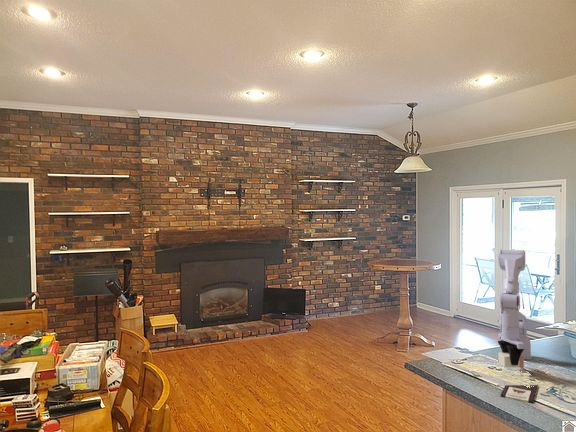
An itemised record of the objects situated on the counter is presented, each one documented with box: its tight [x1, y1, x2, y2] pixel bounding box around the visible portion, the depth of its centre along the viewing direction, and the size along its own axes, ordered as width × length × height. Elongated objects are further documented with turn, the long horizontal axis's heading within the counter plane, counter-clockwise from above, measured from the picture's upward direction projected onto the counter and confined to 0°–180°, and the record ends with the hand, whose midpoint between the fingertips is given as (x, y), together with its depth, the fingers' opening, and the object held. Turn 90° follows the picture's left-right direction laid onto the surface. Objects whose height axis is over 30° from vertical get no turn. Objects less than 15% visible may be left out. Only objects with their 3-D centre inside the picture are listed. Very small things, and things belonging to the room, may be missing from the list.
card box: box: [497, 352, 525, 368], centre depth 156 cm, size 4×7×4 cm, turn 89°
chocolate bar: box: [500, 384, 539, 404], centre depth 139 cm, size 9×1×18 cm
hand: (511, 362), depth 156 cm, fingers closed on card box, 4 cm apart
